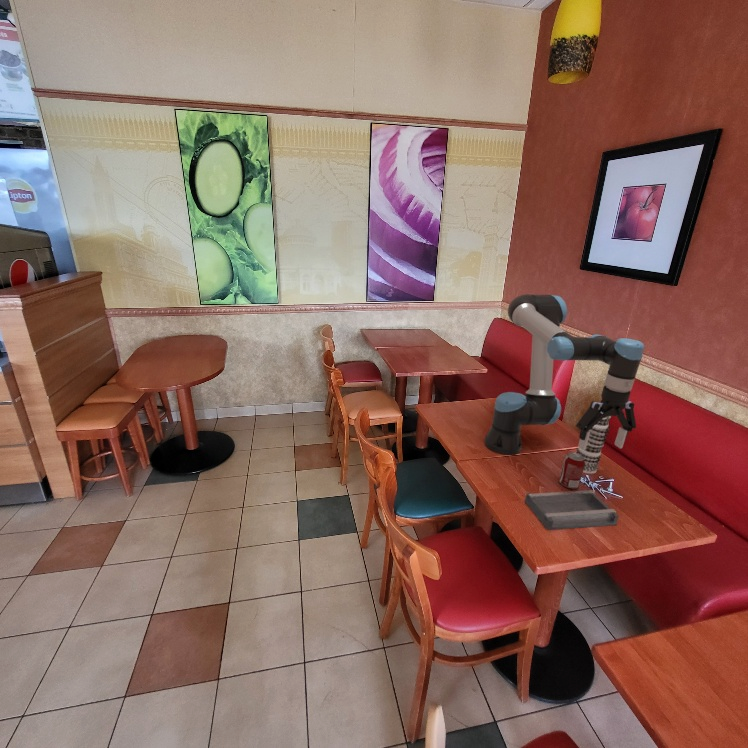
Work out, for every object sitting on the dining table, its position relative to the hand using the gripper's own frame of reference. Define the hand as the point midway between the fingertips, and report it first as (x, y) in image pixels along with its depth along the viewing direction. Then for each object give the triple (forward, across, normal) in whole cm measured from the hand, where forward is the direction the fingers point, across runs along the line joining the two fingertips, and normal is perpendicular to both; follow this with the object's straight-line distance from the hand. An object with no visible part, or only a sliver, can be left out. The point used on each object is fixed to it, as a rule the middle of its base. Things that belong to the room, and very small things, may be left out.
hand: (600, 447), depth 134 cm
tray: (+21, -11, -6) cm, 24 cm away
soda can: (+21, -1, +8) cm, 23 cm away
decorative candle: (+21, +13, +18) cm, 31 cm away
